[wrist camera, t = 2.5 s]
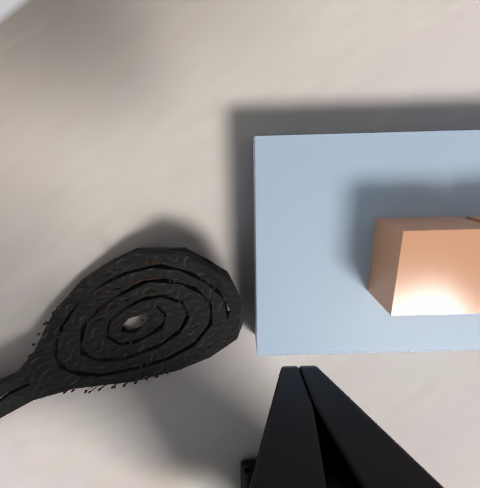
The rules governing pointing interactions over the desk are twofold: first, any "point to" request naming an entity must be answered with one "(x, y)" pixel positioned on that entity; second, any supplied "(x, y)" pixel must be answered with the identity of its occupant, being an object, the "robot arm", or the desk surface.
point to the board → (351, 236)
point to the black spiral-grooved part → (116, 338)
